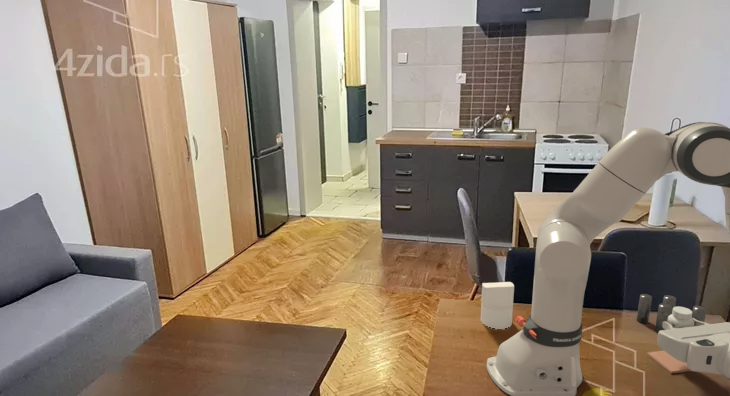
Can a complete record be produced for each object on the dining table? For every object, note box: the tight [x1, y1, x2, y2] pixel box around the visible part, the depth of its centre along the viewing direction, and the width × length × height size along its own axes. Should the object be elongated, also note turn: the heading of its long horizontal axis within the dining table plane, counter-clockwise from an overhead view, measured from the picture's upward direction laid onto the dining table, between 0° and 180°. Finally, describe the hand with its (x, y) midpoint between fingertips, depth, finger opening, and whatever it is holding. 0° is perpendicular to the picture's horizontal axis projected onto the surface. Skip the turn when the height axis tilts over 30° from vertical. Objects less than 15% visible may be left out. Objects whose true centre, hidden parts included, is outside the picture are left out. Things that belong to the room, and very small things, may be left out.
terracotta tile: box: [646, 350, 693, 374], centre depth 115 cm, size 8×8×1 cm
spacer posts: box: [636, 293, 707, 334], centre depth 130 cm, size 12×12×8 cm
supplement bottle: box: [667, 306, 694, 328], centre depth 113 cm, size 5×5×10 cm
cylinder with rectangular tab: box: [480, 281, 515, 330], centre depth 135 cm, size 9×9×12 cm
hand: (677, 322), depth 113 cm, fingers closed on supplement bottle, 5 cm apart
